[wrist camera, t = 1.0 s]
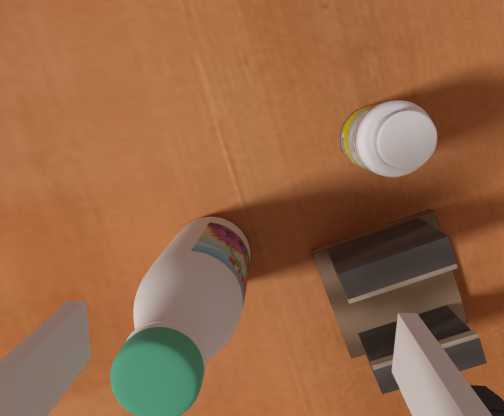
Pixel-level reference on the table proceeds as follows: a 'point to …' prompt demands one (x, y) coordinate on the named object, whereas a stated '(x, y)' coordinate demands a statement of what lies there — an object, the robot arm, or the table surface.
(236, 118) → the table surface
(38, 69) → the table surface
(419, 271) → the clamp block
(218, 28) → the table surface
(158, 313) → the milk bottle
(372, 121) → the supplement bottle
